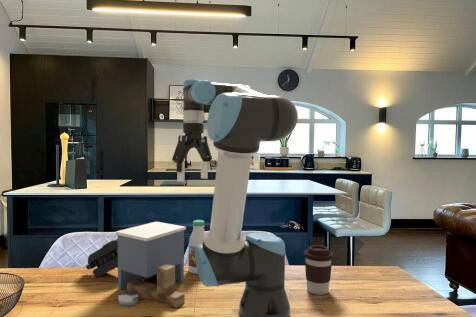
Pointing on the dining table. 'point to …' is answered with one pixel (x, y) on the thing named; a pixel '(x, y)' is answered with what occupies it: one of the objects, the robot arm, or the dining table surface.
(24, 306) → the dining table surface
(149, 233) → the cabinet
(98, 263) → the tool
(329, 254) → the coffee cup
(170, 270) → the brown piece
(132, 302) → the puck
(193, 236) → the milk bottle
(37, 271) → the dining table surface
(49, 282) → the dining table surface
